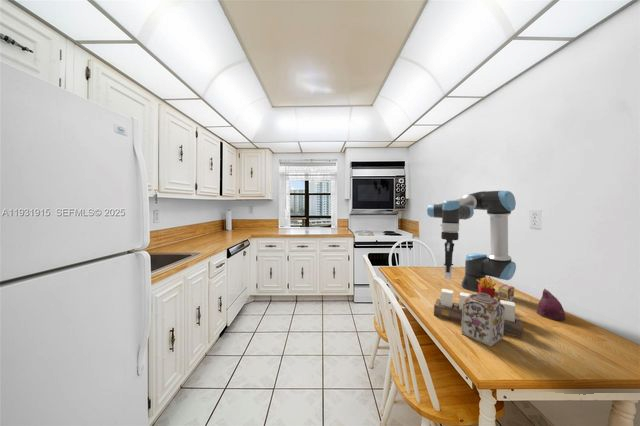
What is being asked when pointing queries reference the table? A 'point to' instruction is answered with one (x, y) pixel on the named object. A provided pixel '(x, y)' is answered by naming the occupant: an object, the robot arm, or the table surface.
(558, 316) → the vegetable
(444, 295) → the white rectangular block
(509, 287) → the candy box
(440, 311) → the wooden candle holder
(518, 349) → the table surface
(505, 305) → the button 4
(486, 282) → the french fries
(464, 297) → the white block
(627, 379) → the table surface
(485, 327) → the decorative jar
